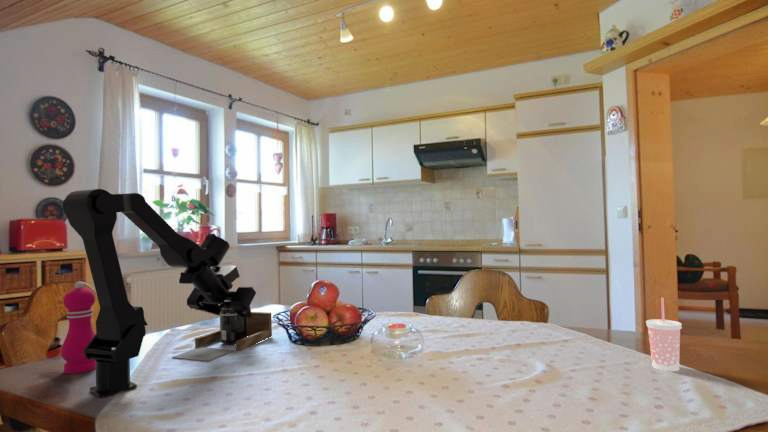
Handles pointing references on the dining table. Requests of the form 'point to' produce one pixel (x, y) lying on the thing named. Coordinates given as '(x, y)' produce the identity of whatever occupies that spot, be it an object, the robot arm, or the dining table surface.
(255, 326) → the shelf lane
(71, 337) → the pepper mill
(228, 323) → the beverage can
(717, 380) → the dining table surface
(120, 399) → the dining table surface
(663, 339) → the beverage cup
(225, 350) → the mat
